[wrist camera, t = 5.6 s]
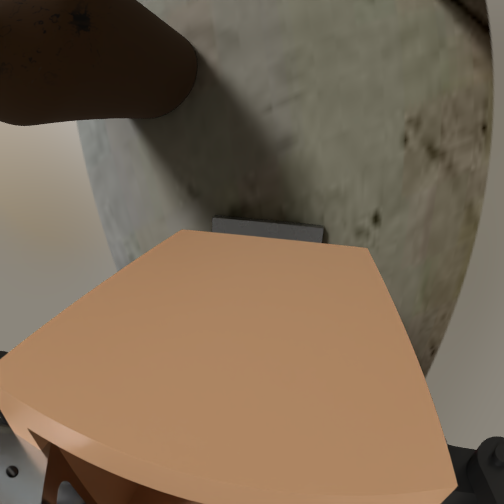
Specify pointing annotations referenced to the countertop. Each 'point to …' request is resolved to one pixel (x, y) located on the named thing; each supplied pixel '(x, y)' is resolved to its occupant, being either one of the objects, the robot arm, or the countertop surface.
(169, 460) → the duct sleeve
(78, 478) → the robot arm
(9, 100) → the olive oil
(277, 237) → the flange
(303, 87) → the countertop surface
